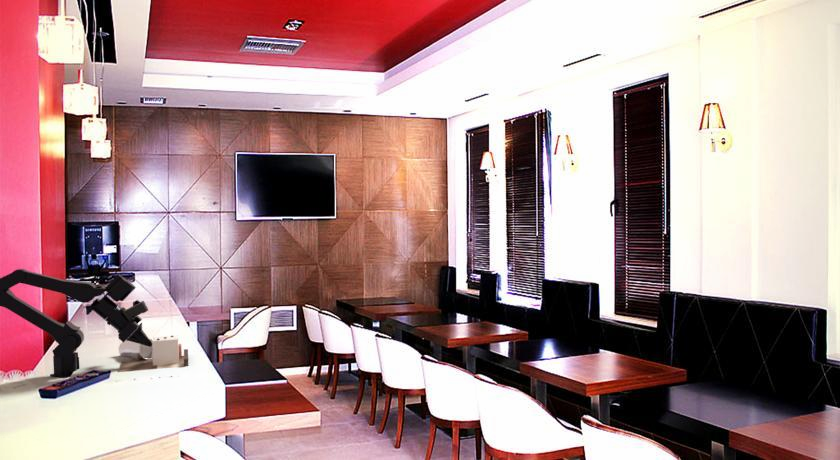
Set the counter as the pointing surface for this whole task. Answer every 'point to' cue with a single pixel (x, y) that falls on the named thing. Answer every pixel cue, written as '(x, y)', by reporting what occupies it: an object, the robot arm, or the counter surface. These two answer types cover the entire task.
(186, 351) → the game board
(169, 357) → the ivory die
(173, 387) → the counter surface
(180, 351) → the terracotta die
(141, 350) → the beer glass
